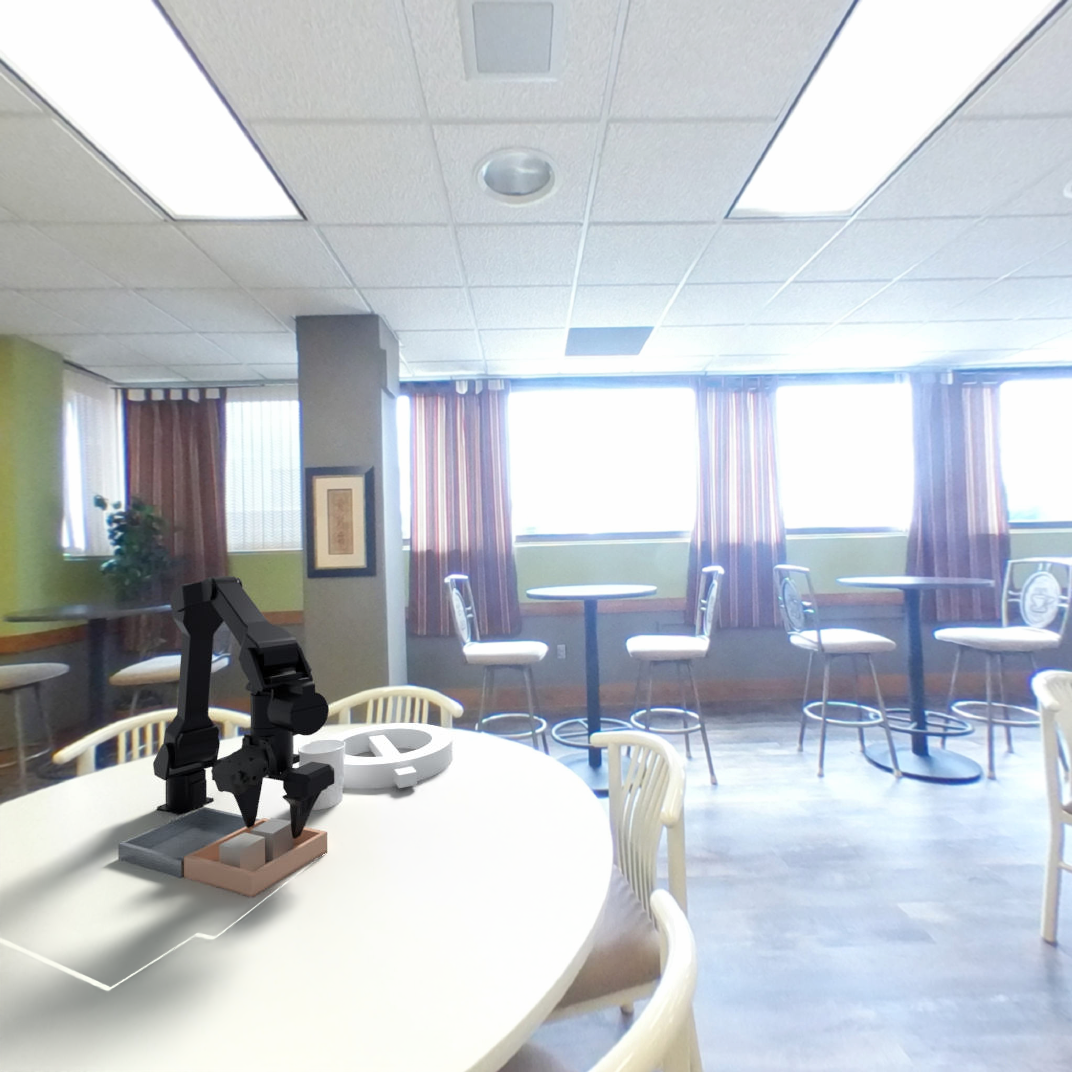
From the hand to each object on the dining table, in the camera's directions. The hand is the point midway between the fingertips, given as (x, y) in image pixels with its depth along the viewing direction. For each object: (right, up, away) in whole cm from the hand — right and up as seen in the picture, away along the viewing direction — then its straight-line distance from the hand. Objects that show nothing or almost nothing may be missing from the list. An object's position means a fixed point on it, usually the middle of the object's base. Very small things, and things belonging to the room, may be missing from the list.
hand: (272, 832), depth 87 cm
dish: (-1, -4, -3) cm, 4 cm away
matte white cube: (-2, -3, -5) cm, 6 cm away
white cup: (+1, -4, +19) cm, 19 cm away
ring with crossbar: (+7, -5, +39) cm, 40 cm away
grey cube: (0, -3, 0) cm, 3 cm away
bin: (-13, -4, +3) cm, 14 cm away
